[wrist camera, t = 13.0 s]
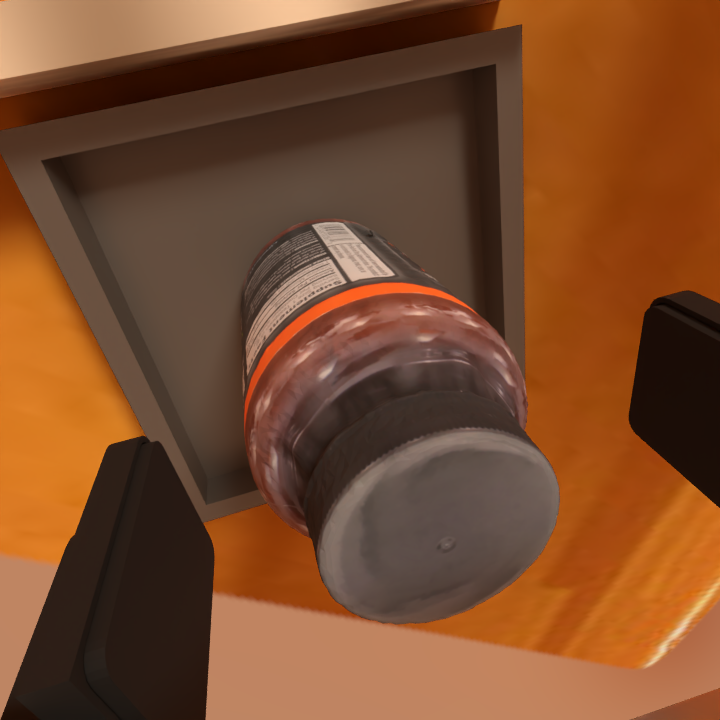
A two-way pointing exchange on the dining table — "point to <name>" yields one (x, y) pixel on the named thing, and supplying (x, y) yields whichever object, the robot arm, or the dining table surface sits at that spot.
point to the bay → (167, 32)
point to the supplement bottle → (388, 426)
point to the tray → (273, 217)
